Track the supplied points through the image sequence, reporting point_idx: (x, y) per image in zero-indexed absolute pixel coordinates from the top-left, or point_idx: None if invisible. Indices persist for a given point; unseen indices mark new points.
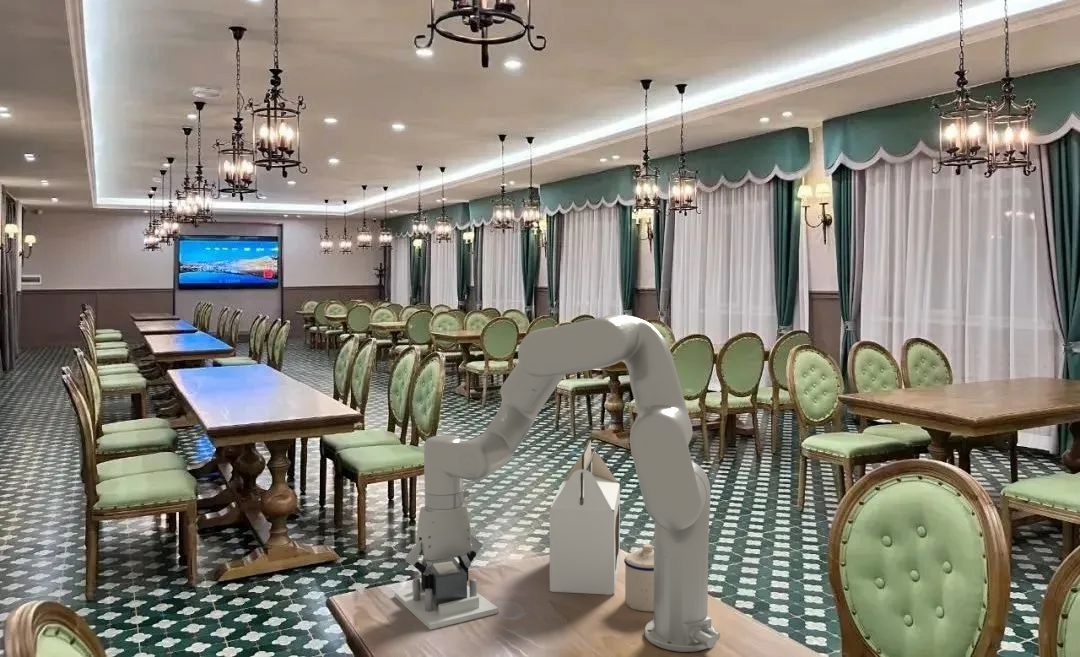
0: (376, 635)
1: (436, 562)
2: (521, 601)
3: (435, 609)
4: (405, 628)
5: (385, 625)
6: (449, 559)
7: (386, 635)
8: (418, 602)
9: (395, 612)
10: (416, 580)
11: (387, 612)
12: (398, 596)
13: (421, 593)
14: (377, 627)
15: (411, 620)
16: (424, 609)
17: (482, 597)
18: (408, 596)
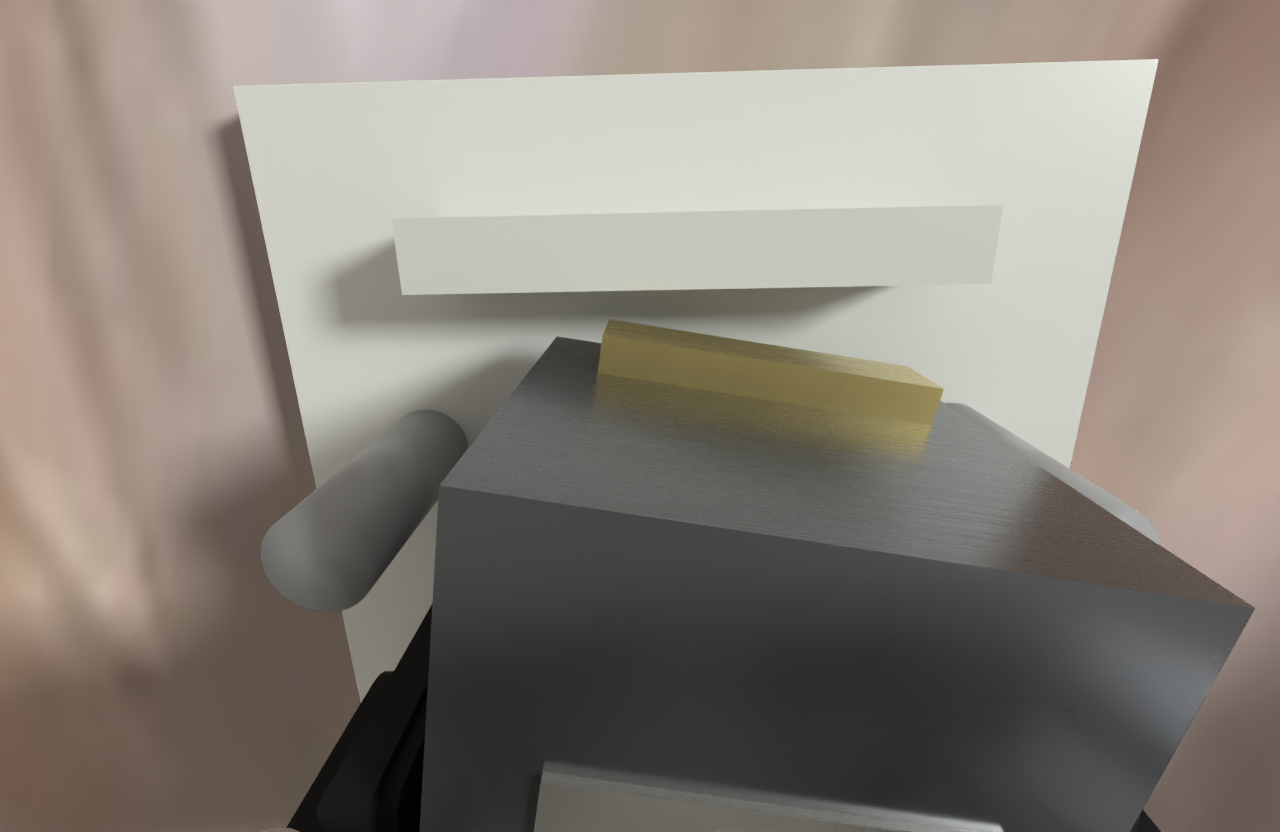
0: (42, 768)
1: (682, 715)
2: (1249, 785)
3: None
4: (257, 769)
5: (116, 666)
6: (1053, 705)
7: (112, 797)
8: (426, 523)
9: (223, 489)
10: (310, 595)
11: (152, 454)
12: (272, 226)
13: (526, 319)
14: (52, 668)
15: (326, 682)
16: None
17: None
18: (366, 326)
